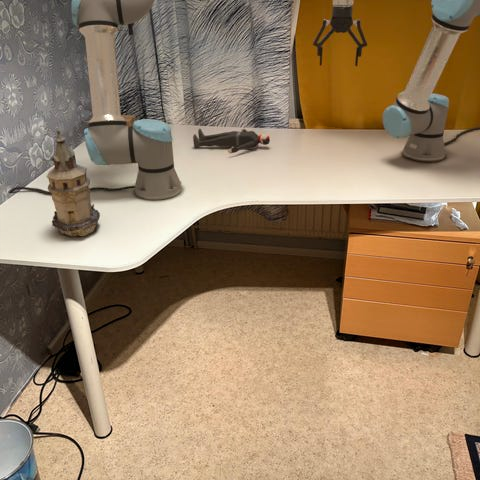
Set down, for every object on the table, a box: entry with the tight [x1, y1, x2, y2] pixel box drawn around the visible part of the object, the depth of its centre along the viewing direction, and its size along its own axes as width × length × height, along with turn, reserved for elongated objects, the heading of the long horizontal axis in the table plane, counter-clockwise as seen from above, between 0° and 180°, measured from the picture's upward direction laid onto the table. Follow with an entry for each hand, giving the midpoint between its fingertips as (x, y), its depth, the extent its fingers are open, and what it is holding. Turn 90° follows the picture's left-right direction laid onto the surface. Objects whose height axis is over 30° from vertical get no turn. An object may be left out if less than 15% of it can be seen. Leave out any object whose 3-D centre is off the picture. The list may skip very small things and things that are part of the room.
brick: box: [121, 114, 137, 126], centre depth 229 cm, size 9×6×7 cm
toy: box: [192, 128, 271, 155], centre depth 214 cm, size 26×6×30 cm
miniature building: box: [46, 129, 101, 237], centre depth 148 cm, size 13×14×30 cm
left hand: (114, 34), depth 210 cm, fingers open, 13 cm apart
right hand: (338, 65), depth 208 cm, fingers open, 13 cm apart
